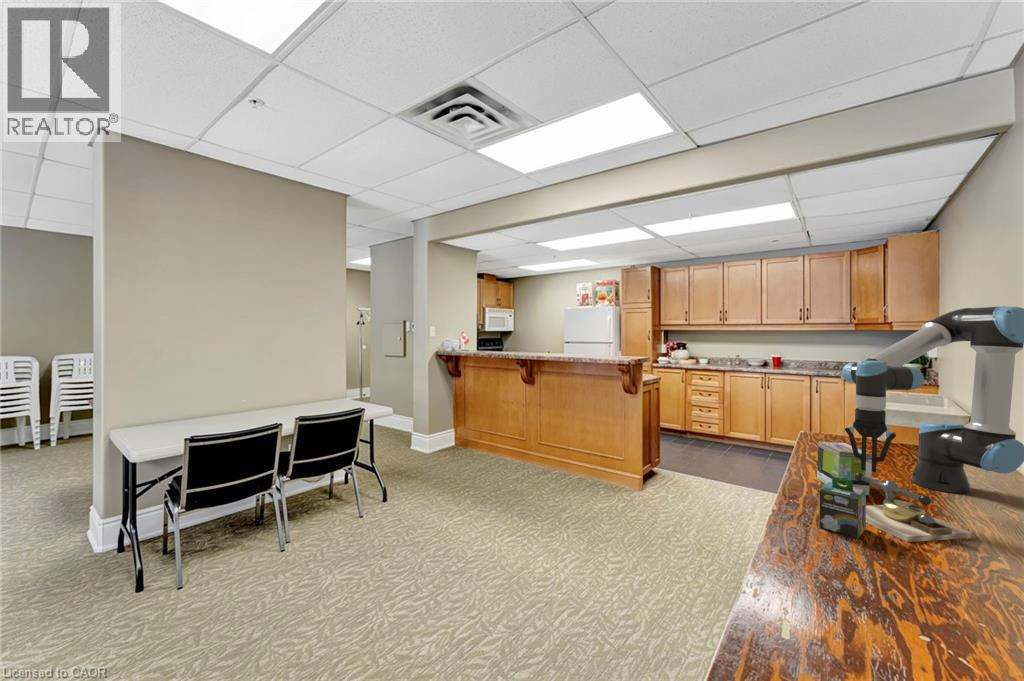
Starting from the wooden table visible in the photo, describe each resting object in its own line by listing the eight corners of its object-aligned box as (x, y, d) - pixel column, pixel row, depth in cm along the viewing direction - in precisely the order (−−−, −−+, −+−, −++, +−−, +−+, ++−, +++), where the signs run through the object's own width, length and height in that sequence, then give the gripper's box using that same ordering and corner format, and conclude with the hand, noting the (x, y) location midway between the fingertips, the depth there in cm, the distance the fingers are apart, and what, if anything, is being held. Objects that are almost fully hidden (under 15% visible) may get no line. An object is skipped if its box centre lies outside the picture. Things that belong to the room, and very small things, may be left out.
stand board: (899, 508, 135) (899, 499, 135) (972, 538, 116) (972, 527, 116) (843, 511, 133) (843, 502, 133) (908, 542, 114) (908, 531, 113)
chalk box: (866, 529, 121) (867, 478, 120) (858, 540, 115) (860, 485, 115) (826, 518, 128) (828, 469, 128) (817, 527, 122) (819, 476, 122)
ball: (924, 523, 121) (925, 511, 121) (938, 529, 117) (938, 516, 117) (913, 524, 120) (914, 511, 120) (927, 530, 117) (927, 517, 117)
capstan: (843, 498, 139) (844, 470, 139) (866, 496, 140) (867, 468, 140) (915, 528, 118) (917, 495, 117) (942, 526, 119) (943, 494, 119)
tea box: (870, 496, 145) (872, 453, 145) (837, 493, 147) (838, 451, 147) (845, 480, 160) (846, 441, 160) (815, 478, 162) (816, 440, 162)
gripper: (896, 409, 136) (894, 482, 136) (845, 404, 144) (843, 473, 145) (898, 412, 130) (895, 489, 131) (844, 407, 138) (842, 479, 139)
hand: (868, 480), depth 138 cm, fingers closed
